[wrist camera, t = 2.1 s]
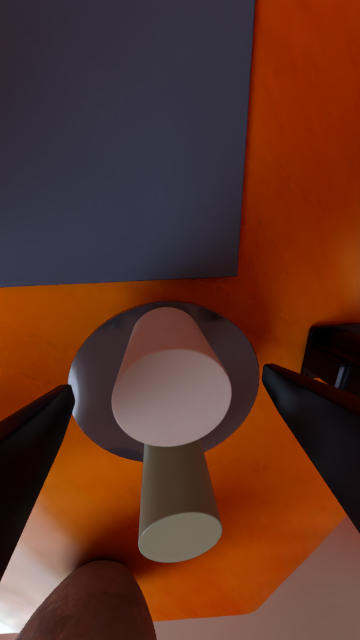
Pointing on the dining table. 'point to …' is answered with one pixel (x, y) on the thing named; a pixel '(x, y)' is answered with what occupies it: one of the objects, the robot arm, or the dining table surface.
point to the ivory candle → (169, 381)
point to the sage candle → (177, 504)
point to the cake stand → (106, 358)
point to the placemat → (122, 139)
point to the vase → (93, 607)
